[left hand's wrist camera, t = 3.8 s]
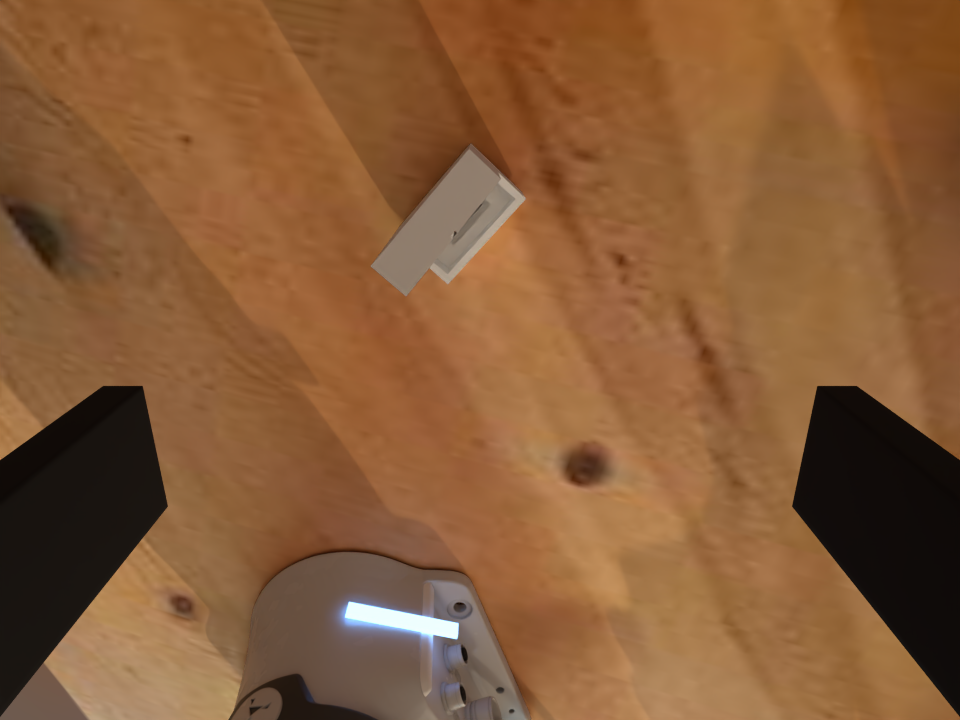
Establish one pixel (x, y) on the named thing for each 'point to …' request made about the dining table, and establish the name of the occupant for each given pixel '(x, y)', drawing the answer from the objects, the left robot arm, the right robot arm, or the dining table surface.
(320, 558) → the right robot arm
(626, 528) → the dining table surface
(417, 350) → the dining table surface
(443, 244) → the white angled block
